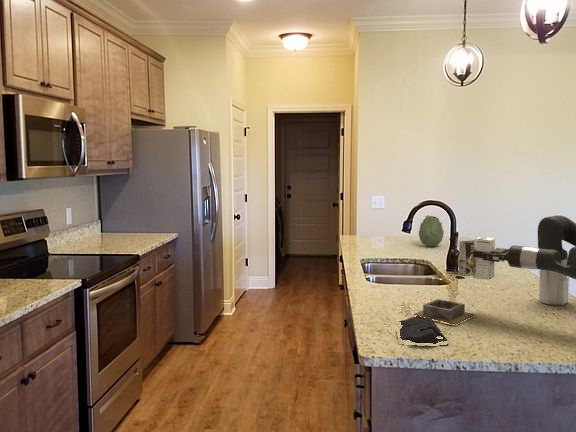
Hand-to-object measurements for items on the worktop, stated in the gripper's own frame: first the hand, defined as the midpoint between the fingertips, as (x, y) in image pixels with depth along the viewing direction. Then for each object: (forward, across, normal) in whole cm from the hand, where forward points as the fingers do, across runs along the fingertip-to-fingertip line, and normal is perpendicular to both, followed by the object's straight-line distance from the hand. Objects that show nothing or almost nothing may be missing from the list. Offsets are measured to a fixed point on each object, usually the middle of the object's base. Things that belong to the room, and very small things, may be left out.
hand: (477, 252), depth 179 cm
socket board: (+6, -14, -22) cm, 27 cm away
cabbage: (+82, +111, -22) cm, 140 cm away
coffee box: (+28, +54, -22) cm, 65 cm away
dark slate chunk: (+3, -36, -22) cm, 42 cm away
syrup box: (-2, 0, -9) cm, 10 cm away
